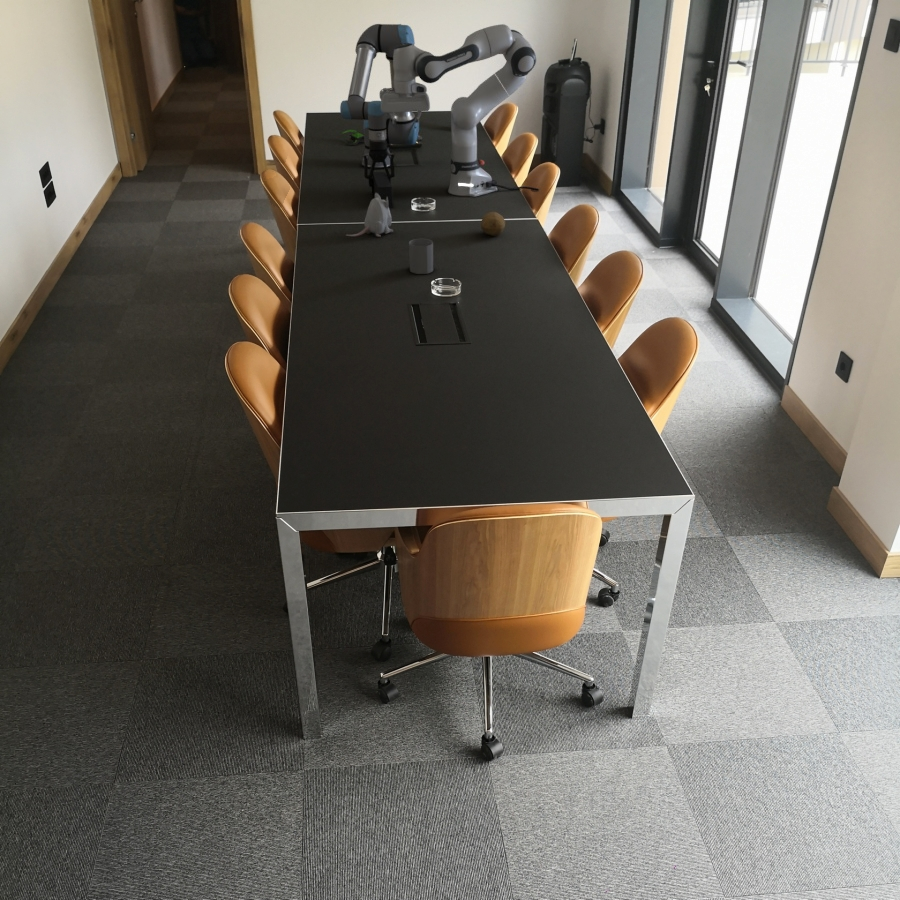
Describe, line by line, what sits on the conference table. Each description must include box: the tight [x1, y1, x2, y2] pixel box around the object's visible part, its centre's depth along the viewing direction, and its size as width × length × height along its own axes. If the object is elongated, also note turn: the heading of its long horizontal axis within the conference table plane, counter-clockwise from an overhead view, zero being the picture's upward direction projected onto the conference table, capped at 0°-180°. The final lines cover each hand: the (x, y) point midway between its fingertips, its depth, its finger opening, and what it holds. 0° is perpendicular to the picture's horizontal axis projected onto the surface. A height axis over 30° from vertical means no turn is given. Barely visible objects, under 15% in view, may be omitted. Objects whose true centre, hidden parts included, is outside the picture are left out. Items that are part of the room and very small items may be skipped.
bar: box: [372, 171, 394, 209], centre depth 377 cm, size 24×6×9 cm, turn 11°
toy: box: [346, 193, 394, 238], centre depth 334 cm, size 9×24×15 cm, turn 137°
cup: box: [408, 237, 434, 275], centre depth 305 cm, size 8×8×10 cm
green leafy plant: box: [340, 129, 365, 146], centre depth 465 cm, size 6×13×30 cm
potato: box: [480, 211, 506, 237], centre depth 338 cm, size 10×14×8 cm
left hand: (380, 193), depth 386 cm, fingers closed on bar, 6 cm apart
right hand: (405, 122), depth 359 cm, fingers open, 8 cm apart
